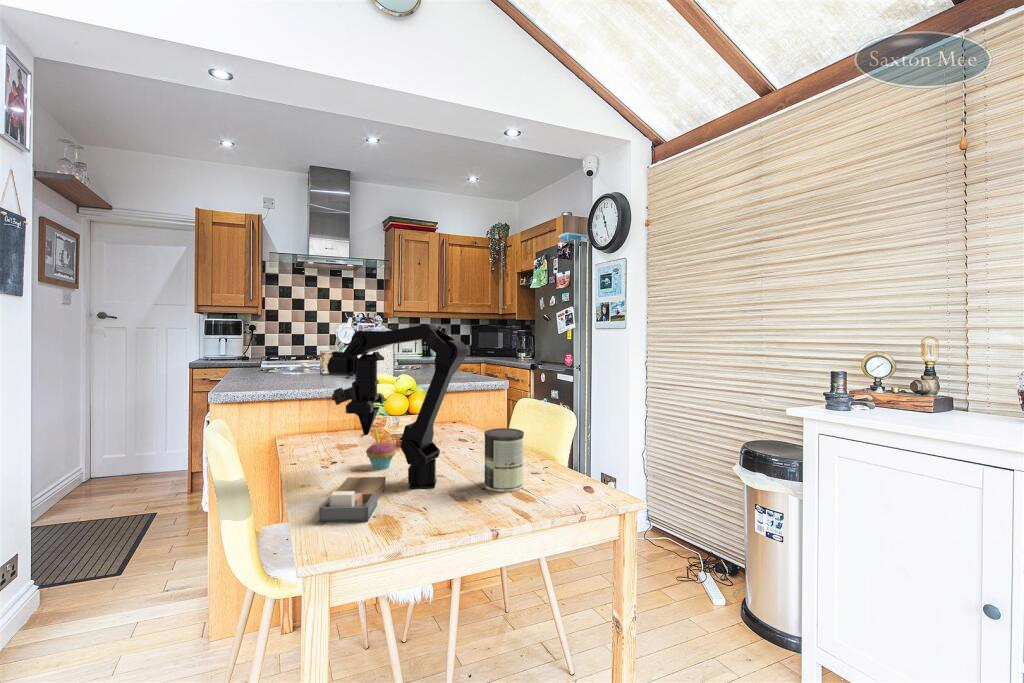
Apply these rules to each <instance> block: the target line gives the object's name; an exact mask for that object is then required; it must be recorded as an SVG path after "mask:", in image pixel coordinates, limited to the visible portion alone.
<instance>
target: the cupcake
mask: <svg viewBox="0 0 1024 683" xmlns="http://www.w3.org/2000/svg"><path fill="white" fill-rule="evenodd" d="M376 427H377V426H374V433H375V439H376V440H375V441H376V443H374V444H371V445H370V446H369V447H368V448H367V449H365V453H366V457H367V458H368V459H369V461H370V463H371V467H372V469H375V470H386V469H388V468H389V467H390V466H391V465H390V464H391V462H392V460H393V457H394V456H395V455H396V454H397V449H396V446H394V445H393V444H391V443H388V442H380V440H379V433H378V428H376Z"/></svg>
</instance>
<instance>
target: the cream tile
mask: <svg viewBox="0 0 1024 683" xmlns="http://www.w3.org/2000/svg"><path fill="white" fill-rule="evenodd" d="M329 497H330V507H352V506H355V491H337V490H333V492H331V494H330V495H329Z"/></svg>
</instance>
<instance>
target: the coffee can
mask: <svg viewBox="0 0 1024 683" xmlns="http://www.w3.org/2000/svg"><path fill="white" fill-rule="evenodd" d="M483 435H484V488H485V489H487V491H488V490H489V491H491V492H496V493H511V492H515V491H516V492H517V491H519V490H520V489H522V488H524V436H525V432H524V431H523V430H521V429H517V428H510V427H509V428H508V427H506V428H505V427H502V428H500V427H499V428H491V429H490V428H489V429H488V430H485V431H484V433H483Z"/></svg>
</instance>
